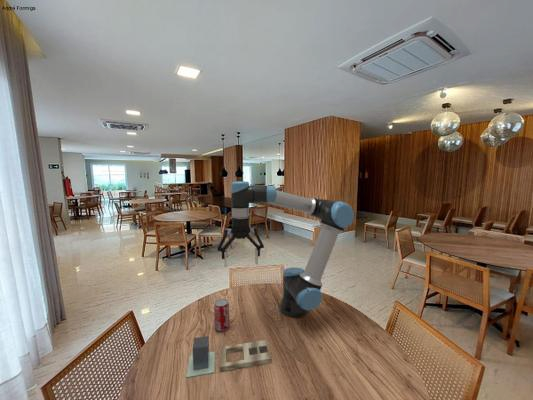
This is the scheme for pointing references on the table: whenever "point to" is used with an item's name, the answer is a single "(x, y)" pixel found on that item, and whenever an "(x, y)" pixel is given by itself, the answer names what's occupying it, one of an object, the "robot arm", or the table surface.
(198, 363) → the block
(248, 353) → the plate
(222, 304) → the soda can
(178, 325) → the table surface
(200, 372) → the mat
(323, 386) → the table surface
